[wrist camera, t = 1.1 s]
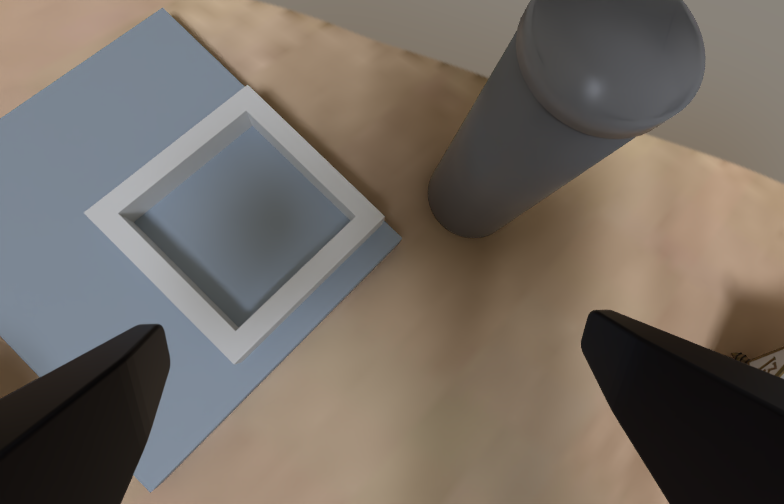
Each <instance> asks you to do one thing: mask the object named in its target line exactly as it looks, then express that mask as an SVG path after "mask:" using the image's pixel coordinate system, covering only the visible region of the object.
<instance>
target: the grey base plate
mask: <svg viewBox="0 0 784 504" xmlns="http://www.w3.org/2000/svg"><path fill="white" fill-rule="evenodd" d="M384 218H385V216H384V215H383V214H382V213H381V212H380V211H379V210H378V209H377V208H376V207H375V206H373V205H372V204H371V203H370V202H369V201H368V200H367V199H366V198H365V197H364V196H363V195H362V194H361V193H360V192H359V191H358V190H357V189H356V188H355V187H354V186H353V185H352V184H351V183H350V182H348V181H347V180H346V179H345V178H344V177H343V176H342V175H341V174H340V173H339V172H338V171H337V170H336V169H335V168H334V167H333V166H332V165H331V164H330V163H329V162H328V161H327V160H326V159H325V158H323V157H322V156H321V155H320V154H319V153H318V152H317V151H316V150H315V149H314V148H313V147H312V146H311V145H310V144H309V143H308V142H307V141H306V140H305V139H304V138H303V137H302V136H301V135H300V134H298V133H297V132H296V131H295V130H294V129H293V128H292V127H291V126H290V125H289V124H288V123H287V122H286V121H285V120H284V119H283V118H282V117H281V116H280V115H279V114H278V113H277V112H276V111H275V110H273V109H272V108H271V107H270V106H269V105H268V104H267V103H266V102H265V101H264V100H263V99H262V98H261V97H260V96H259V95H258V94H257V93H256V92H255V91H254V90H253V89H252V88H251V87H250V86H249V85H246V86H243V85H242V84H241V83H240V82H239V81H238V80H237V79H236V78H235V77H234V76H233V75H232V74H231V73H230V72H229V71H228V70H227V69H226V68H225V67H224V66H223V65H222V64H221V63H220V62H219V61H217V60H216V59H215V58H214V57H213V56H212V55H211V54H210V53H209V52H208V51H207V50H206V49H205V48H204V47H203V46H202V45H201V44H200V43H199V42H198V41H197V40H196V39H195V38H194V37H193V36H191V35H190V34H189V33H188V32H187V31H186V30H185V29H184V28H183V27H182V26H181V25H180V24H179V23H178V22H177V21H176V20H175V19H174V18H173V17H172V16H171V15H170V14H169V13H168V12H166V11H165V10H164V9H163V8H161V9H160V10H158V11H157V12H156V13H154V14H153V15H151V16H150V17H148V18H147V19H145V20H144V21H142V22H141V23H139V24H138V25H137V26H135V27H134V28H132V29H131V30H129V31H128V32H126V33H125V34H123V35H122V36H120V37H119V38H117V39H116V40H115V41H113V42H112V43H110V44H109V45H107V46H106V47H104V48H103V49H101V50H100V51H98V52H97V53H96V54H94V55H93V56H91V57H90V58H88V59H87V60H85V61H84V62H82V63H81V64H79V65H78V66H76V67H75V68H74V69H72V70H71V71H69V72H68V73H66V74H65V75H63V76H62V77H60V78H59V79H57V80H56V81H55V82H53V83H52V84H50V85H49V86H47V87H46V88H44V89H43V90H41V91H40V92H38V93H37V94H35V95H34V96H33V97H31V98H30V99H28V100H27V101H25V102H24V103H22V104H21V105H19V106H18V107H16V108H15V109H14V110H12V111H11V112H9V113H8V114H6V115H5V116H3V117H2V118H0V336H1V337H2V338H3V339H4V340H5V341H6V343H7V344H8V345H9V346H10V347H11V348H12V349H13V350H14V351H15V352H16V353H17V354H18V355H19V356H20V357H21V358H22V359H23V360H24V361H25V362H26V363H27V364H28V365H29V367H30V368H31V369H32V370H33V371H34V372H35V373H36V374H37V375H38V376H39V377H42V376H43V375H45V374H47V373H49V372H51V371H53V370H55V369H56V368H58V367H60V366H62V365H64V364H66V363H68V362H69V361H71V360H73V359H75V358H77V357H79V356H80V355H82V354H84V353H86V352H88V351H90V350H92V349H93V348H95V347H97V346H99V345H101V344H103V343H104V342H106V341H108V340H110V339H112V338H114V337H116V336H117V335H119V334H121V333H123V332H125V331H127V330H129V329H130V328H132V327H134V326H136V325H139V324H160V325H162V326H163V328H164V331H165V335H166V340H167V344H168V349H169V354H170V370H169V374H168V377H167V380H166V383H165V387H164V390H163V393H162V397H161V400H160V403H159V406H158V410H157V413H156V416H155V419H154V423H153V426H152V429H151V432H150V435H149V438H148V441H147V444H146V446H145V449H144V451H143V454H142V456H141V458H140V461H139V463H138V465H137V467H136V470H135V472H134V474H133V475H134V476H135V477H136V478H137V479H138V480H139V481H140V482H141V483H142V484H143V485H144V487H145V488H146V489H147V490H148V491H149V492H150V493H151V492H152V491H153V490H154V489H155V488H157V487H158V486H159V485H160V484H161V483H162V482H163V481H164V480H165V479H166V478H167V477H168V476H169V475H170V474H171V473H172V472H173V471H174V470H175V469H176V468H177V467H178V466H179V465H180V464H181V463H182V462H183V461H184V460H185V459H186V458H187V457H188V456H189V455H190V454H191V453H192V452H193V451H194V450H195V449H196V448H197V447H198V446H199V445H200V444H201V443H202V442H203V441H204V440H205V439H206V438H207V437H208V436H209V435H210V434H211V433H212V432H213V431H214V430H215V429H216V428H217V427H218V426H219V425H220V424H221V423H222V422H223V421H224V420H225V419H226V418H227V417H228V416H229V415H230V414H231V413H232V412H233V411H234V410H235V409H236V408H237V407H238V406H239V405H240V404H241V403H242V402H243V401H244V400H245V399H246V397H247V396H248V395H249V394H250V393H251V392H252V391H253V390H254V389H255V388H256V387H257V386H258V385H259V384H260V383H261V382H262V381H263V380H264V379H265V378H266V377H267V376H268V375H269V374H270V373H271V372H272V371H273V370H274V369H275V368H276V367H277V366H278V365H279V364H280V363H281V362H282V361H283V360H284V359H285V358H286V357H287V356H288V355H289V354H290V353H291V352H292V351H293V350H294V349H295V348H296V347H297V346H298V345H299V344H300V343H301V342H302V341H303V340H304V339H305V338H306V337H307V336H308V335H309V334H310V333H311V332H312V331H313V330H314V329H315V328H316V327H317V326H318V325H319V324H320V323H321V322H322V321H323V320H324V319H325V318H326V317H327V316H328V315H329V314H330V313H331V312H332V311H333V310H334V308H335V307H336V306H337V305H338V304H339V303H340V302H341V301H342V300H343V299H344V298H345V297H346V296H347V295H348V294H349V293H350V292H351V291H352V290H353V289H354V288H355V287H356V286H357V285H358V284H359V283H360V282H361V281H362V280H363V279H364V278H365V277H366V276H367V275H368V274H369V273H370V272H371V271H372V270H373V269H374V268H375V267H376V266H377V265H378V264H379V263H380V262H381V261H382V260H383V259H384V258H385V257H386V256H387V255H388V254H389V253H390V252H391V251H392V250H393V249H394V248H395V247H396V246H397V245H398V244H399V242H400V241H401V239H402V237H401V236H400V235H399V234H397V233H396V232H395V231H394V230H393V229H392V228H391V227H390V226H389V225H388V224H387V223H386V222H385V221H384Z"/></svg>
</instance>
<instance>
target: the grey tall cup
mask: <svg viewBox="0 0 784 504" xmlns="http://www.w3.org/2000/svg"><path fill="white" fill-rule="evenodd" d="M704 70H705V49H704V43H703V39H702V35H701V32H700V30H699V27H698V25H697V22H696V20H695V18H694V16H693V15H692V13H691V11H690V10H689V9H688V7H687V5H686V4H685V3H684V2H683V0H531V1H530V2H529V4H528V6H527V8H526V9H525V12H524V13H523V15H522V17H521V19H520V22H519V25H518V29H517V31H516V33H515V35H514V37H513V38H512V40H511V42H510V43H509V45H508V47H507V49H506V50H505V52H504V54H503V55H502V57H501V59H500V61H499V62H498V64H497V66H496V67H495V69H494V71H493V72H492V74H491V76H490V77H489V79H488V81H487V83H486V84H485V86H484V88H483V89H482V91H481V93H480V94H479V96H478V98H477V100H476V101H475V103H474V105H473V106H472V108H471V110H470V112H469V113H468V115H467V117H466V118H465V120H464V122H463V123H462V125H461V127H460V129H459V130H458V132H457V134H456V135H455V137H454V139H453V140H452V142H451V144H450V146H449V147H448V149H447V151H446V152H445V154H444V156H443V158H442V159H441V161H440V163H439V164H438V166H437V168H436V169H435V171H434V173H433V175H432V177H431V179H430V182H429V186H428V200H429V205H430V207H431V210H432V212H433V214H434V216H435V217H436V219H437V220H438V221H439V222H440V224H441V225H443V226H444V227H445V228H446V229H448V230H449V231H451V232H452V233H454V234H457V235H459V236H463V237H468V238H479V237H484V236H488V235H490V234H492V233H494V232H495V231H497V230H498V229H500V228H501V227H503V226H504V225H506V224H507V223H509V222H510V221H512V220H513V219H515V218H516V217H518V216H519V215H521V214H522V213H524V212H525V211H527V210H528V209H530V208H531V207H533V206H534V205H536V204H537V203H538V202H540V201H541V200H543V199H544V198H546V197H547V196H549V195H550V194H552V193H553V192H555V191H556V190H558V189H559V188H561V187H562V186H564V185H565V184H567V183H568V182H570V181H571V180H573V179H574V178H576V177H577V176H579V175H580V174H582V173H583V172H584V171H586V170H587V169H589V168H590V167H592V166H593V165H595V164H596V163H598V162H599V161H601V160H602V159H604V158H605V157H607V156H608V155H610V154H611V153H613V152H614V151H616V150H617V149H619V148H620V147H622V146H623V145H625V144H626V143H628V142H629V141H631V140H632V139H633V138H635V137H636V136H640V135H643V134H645V133H647V132H649V131H651V130H653V129H654V128H656V127H658V126H659V125H661V124H662V123H664V122H665V121H666V120H668V119H669V118H671V117H673V116H674V115H676V114H677V113H679V112H680V111H681V110H683V109H684V108H685V107H686V106H687V105H688V104H689V103H690V102H691V100H692V99H693V98H694V97H695V95H696V93H697V91H698V90H699V88H700V85H701V82H702V79H703V75H704Z"/></svg>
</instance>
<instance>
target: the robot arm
mask: <svg viewBox="0 0 784 504" xmlns="http://www.w3.org/2000/svg"><path fill="white" fill-rule="evenodd" d="M581 348H582V352H583V354H584V356H585V358H586V360H587V362H588V364H589V366H590V368H591V370H592V372H593V374H594V376H595V378H596V380H597V382H598V384H599V386H600V388H601V390H602V392H603V394H604V396H605V398H606V400H607V402H608V404H609V406H610V408H611V410H612V412H613V413H614V415H615V417H616V418H617V420H618V422H619V423H620V425H621V427H622V428H623V430H624V431H625V433H626V435H627V436H628V438H629V439H630V441H631V443H632V444H633V446H634V447H635V449H636V451H637V452H638V454H639V455H640V457H641V459H642V460H643V462H644V464H645V465H646V467H647V468H648V470H649V472H650V473H651V475H652V476H653V478H654V480H655V481H656V483H657V484H658V486H659V488H660V489H661V491H662V492H663V494H664V496H665V497H666V499H667V500H668V502H669V504H784V379H783V378H780V377H778V376H775V375H773V374H770V373H768V372H765V371H763V370H760V369H758V368H755V367H753V366H750V365H748V364H745V363H743V362H740V361H738V360H735V359H733V358H730V357H728V356H725V355H723V354H720V353H718V352H715V351H712V350H710V349H707V348H705V347H702V346H700V345H697V344H695V343H692V342H690V341H687V340H685V339H682V338H680V337H677V336H675V335H672V334H670V333H667V332H665V331H662V330H660V329H657V328H655V327H652V326H650V325H647V324H645V323H642V322H640V321H637V320H635V319H632V318H630V317H627V316H625V315H622V314H620V313H617V312H615V311H612V310H593V311H592V312H590V314H589V315H588V318H587V321H586V325H585V329H584V332H583V336H582V339H581ZM169 370H170V354H169V349H168V344H167V340H166V335H165V331H164V328H163V326H162V325H160V324H139V325H136V326H134V327H132V328H130V329H129V330H127V331H125V332H123V333H121V334H119V335H117V336H116V337H114V338H112V339H110V340H108V341H106V342H104V343H103V344H101V345H99V346H97V347H95V348H93V349H92V350H90V351H88V352H86V353H84V354H82V355H80V356H79V357H77V358H75V359H73V360H71V361H69V362H68V363H66V364H64V365H62V366H60V367H58V368H56V369H55V370H53V371H51V372H49V373H47V374H45V375H43V376H42V377H40V378H38V379H36V380H34V381H32V382H31V383H29V384H27V385H25V386H23V387H21V388H19V389H18V390H16V391H14V392H12V393H10V394H8V395H6V396H5V397H3V398H1V399H0V504H121V502H122V500H123V497H124V495H125V493H126V490H127V488H128V486H129V483H130V481H131V479H132V477H133V474H134V472H135V470H136V467H137V465H138V463H139V461H140V458H141V456H142V454H143V451H144V449H145V446H146V444H147V441H148V438H149V435H150V432H151V429H152V426H153V423H154V419H155V416H156V413H157V410H158V406H159V403H160V400H161V397H162V393H163V390H164V387H165V383H166V380H167V377H168V374H169Z"/></svg>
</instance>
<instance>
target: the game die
mask: <svg viewBox="0 0 784 504" xmlns="http://www.w3.org/2000/svg"><path fill="white" fill-rule="evenodd" d="M731 354H732V355H733V357H734V359H735V360H738V361H740V362H743V363H745V364H748V365H750V366H753V367H755V368H758V369H760V370H763V371H765V372H768V373H770V374H773V375H775V376H778V377H780V378H783V379H784V347H781V348H779V349H776V350H774V351H772V352H769V353H767V354H764V355H762V356H759V357H757V358H754V359H752V360H750V359H748V358H747V357H746V355H743V354H742V353H731Z"/></svg>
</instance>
